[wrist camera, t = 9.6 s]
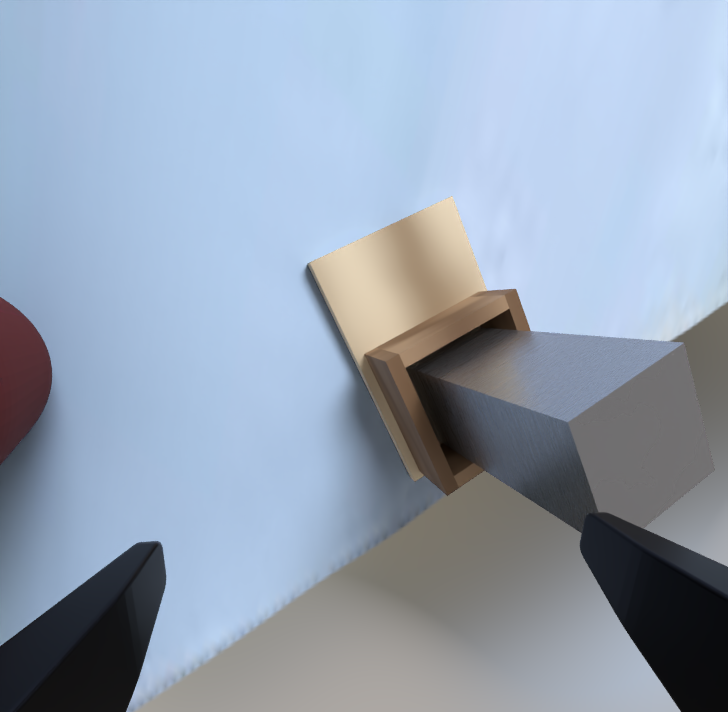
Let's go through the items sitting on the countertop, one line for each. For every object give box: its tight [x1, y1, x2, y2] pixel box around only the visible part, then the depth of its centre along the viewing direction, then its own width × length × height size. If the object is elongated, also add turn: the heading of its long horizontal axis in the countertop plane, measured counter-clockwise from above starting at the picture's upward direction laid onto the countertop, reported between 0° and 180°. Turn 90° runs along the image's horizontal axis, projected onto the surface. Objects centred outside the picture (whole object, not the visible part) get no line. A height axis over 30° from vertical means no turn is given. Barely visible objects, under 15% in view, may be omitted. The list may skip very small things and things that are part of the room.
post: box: [406, 327, 715, 533], centre depth 16 cm, size 4×4×11 cm
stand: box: [308, 196, 530, 496], centre depth 20 cm, size 8×13×4 cm, turn 26°
